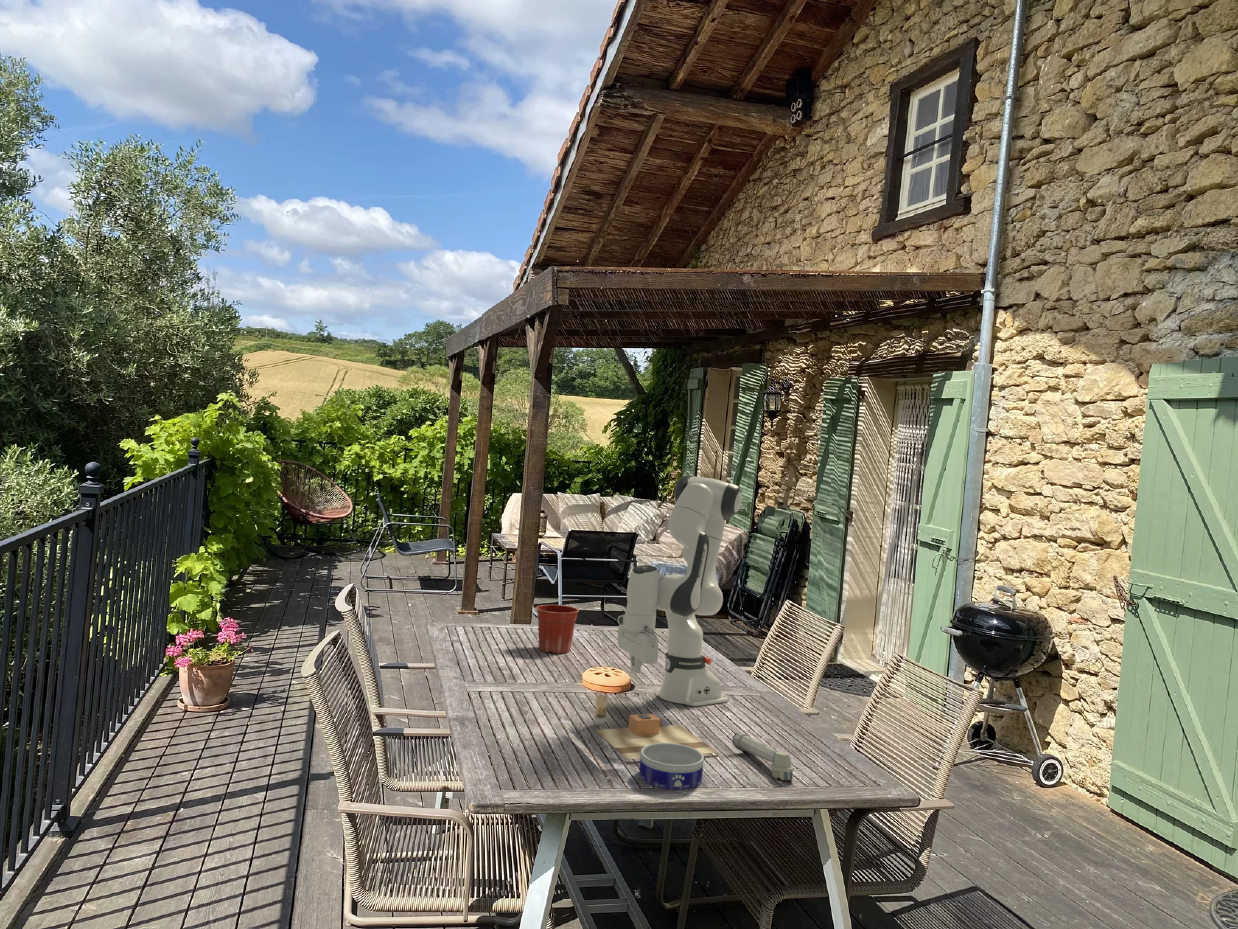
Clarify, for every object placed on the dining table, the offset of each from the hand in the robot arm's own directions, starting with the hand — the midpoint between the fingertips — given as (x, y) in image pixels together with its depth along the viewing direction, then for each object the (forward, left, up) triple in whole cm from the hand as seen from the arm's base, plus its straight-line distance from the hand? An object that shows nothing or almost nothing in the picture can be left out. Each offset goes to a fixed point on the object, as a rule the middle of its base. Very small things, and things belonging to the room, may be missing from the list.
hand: (635, 671), depth 237 cm
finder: (0, +8, -14) cm, 16 cm away
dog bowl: (+6, +36, -16) cm, 40 cm away
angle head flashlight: (-23, +32, -16) cm, 43 cm away
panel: (0, +15, -16) cm, 22 cm away
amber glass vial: (+10, 0, -16) cm, 18 cm away
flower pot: (-7, -89, -16) cm, 90 cm away
